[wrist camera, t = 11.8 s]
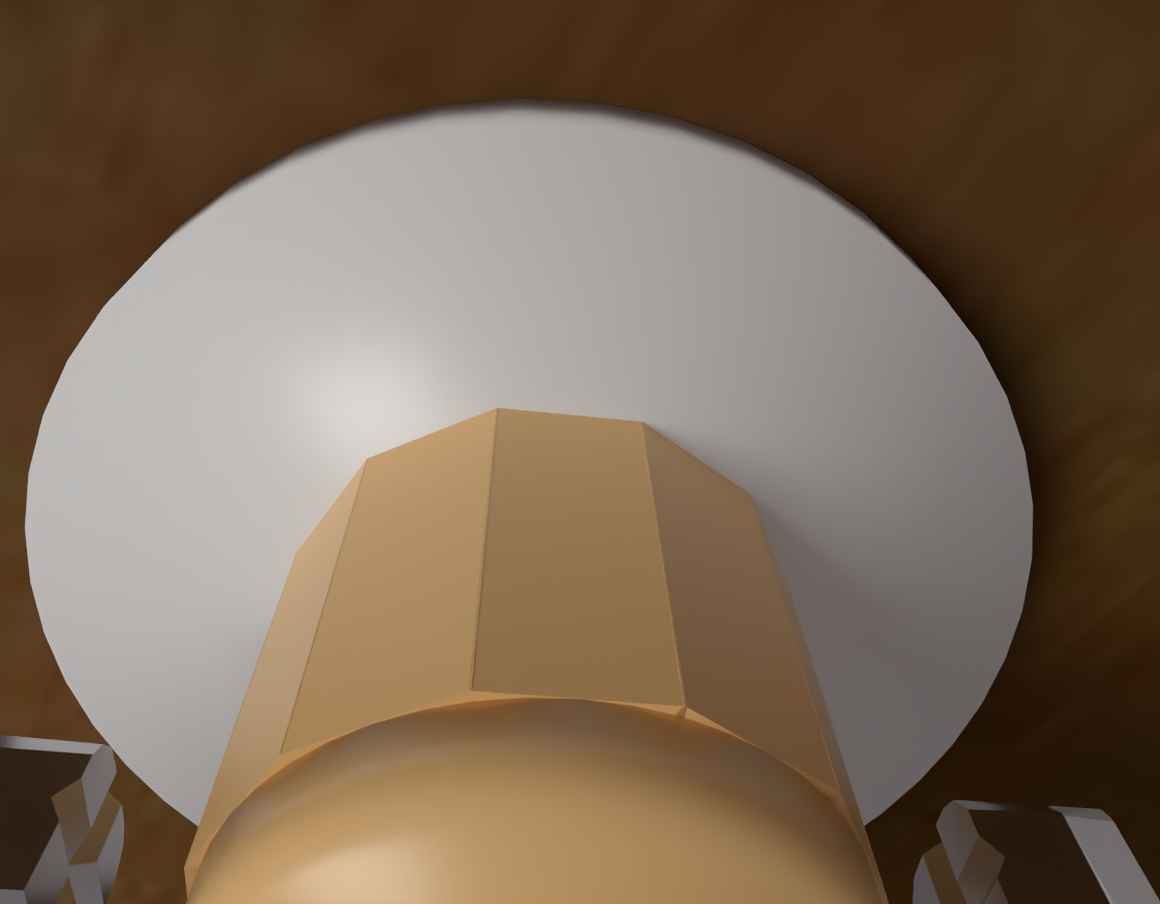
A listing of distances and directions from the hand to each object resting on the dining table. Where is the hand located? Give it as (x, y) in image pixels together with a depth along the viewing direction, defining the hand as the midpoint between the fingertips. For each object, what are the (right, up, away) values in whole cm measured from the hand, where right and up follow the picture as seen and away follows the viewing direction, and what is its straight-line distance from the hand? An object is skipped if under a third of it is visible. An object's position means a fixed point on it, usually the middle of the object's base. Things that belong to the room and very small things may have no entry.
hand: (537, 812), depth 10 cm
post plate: (0, +2, +3) cm, 4 cm away
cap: (0, +1, +3) cm, 3 cm away
